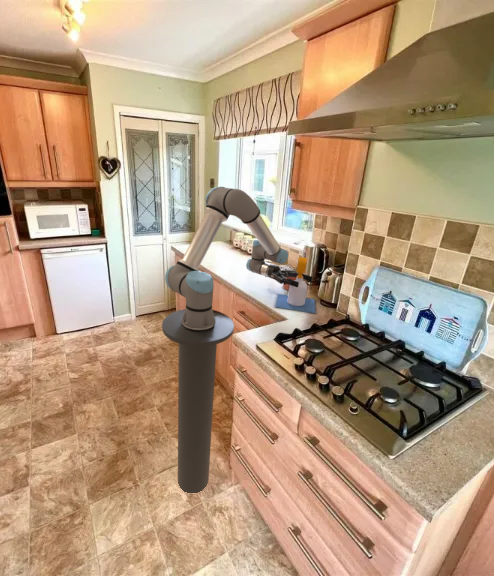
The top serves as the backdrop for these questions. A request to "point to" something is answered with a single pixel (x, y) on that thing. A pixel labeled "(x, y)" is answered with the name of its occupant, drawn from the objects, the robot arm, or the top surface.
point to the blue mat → (307, 307)
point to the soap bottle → (298, 293)
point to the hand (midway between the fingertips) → (305, 281)
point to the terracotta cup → (288, 284)
